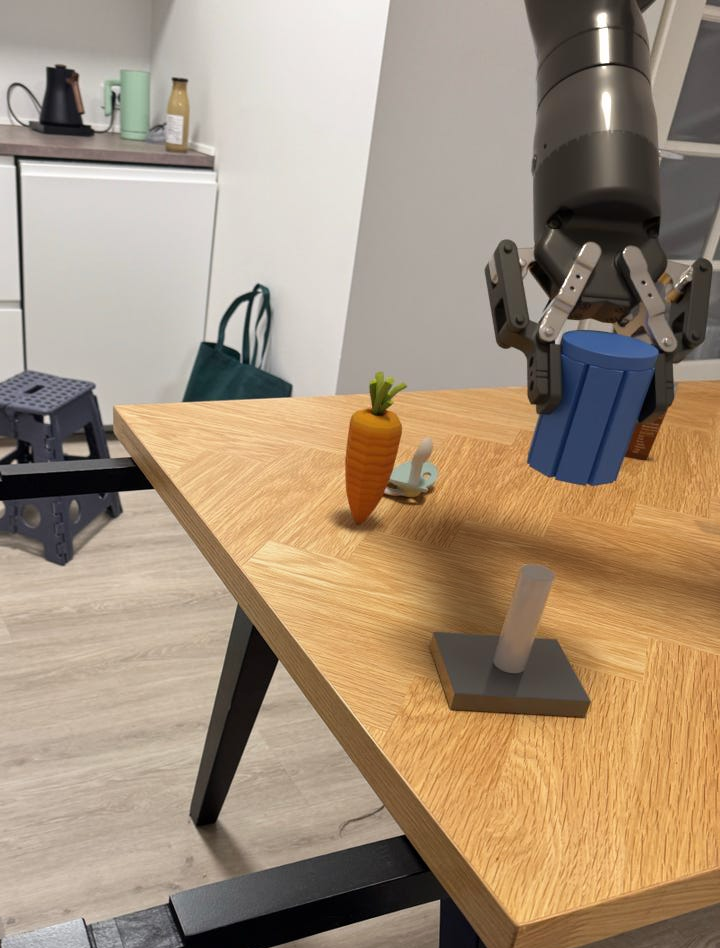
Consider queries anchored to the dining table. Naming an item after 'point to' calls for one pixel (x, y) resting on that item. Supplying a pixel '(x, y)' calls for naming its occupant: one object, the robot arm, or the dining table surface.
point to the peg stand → (511, 660)
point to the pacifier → (414, 473)
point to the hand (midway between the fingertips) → (601, 412)
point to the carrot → (372, 448)
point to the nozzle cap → (593, 407)
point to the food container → (645, 436)
